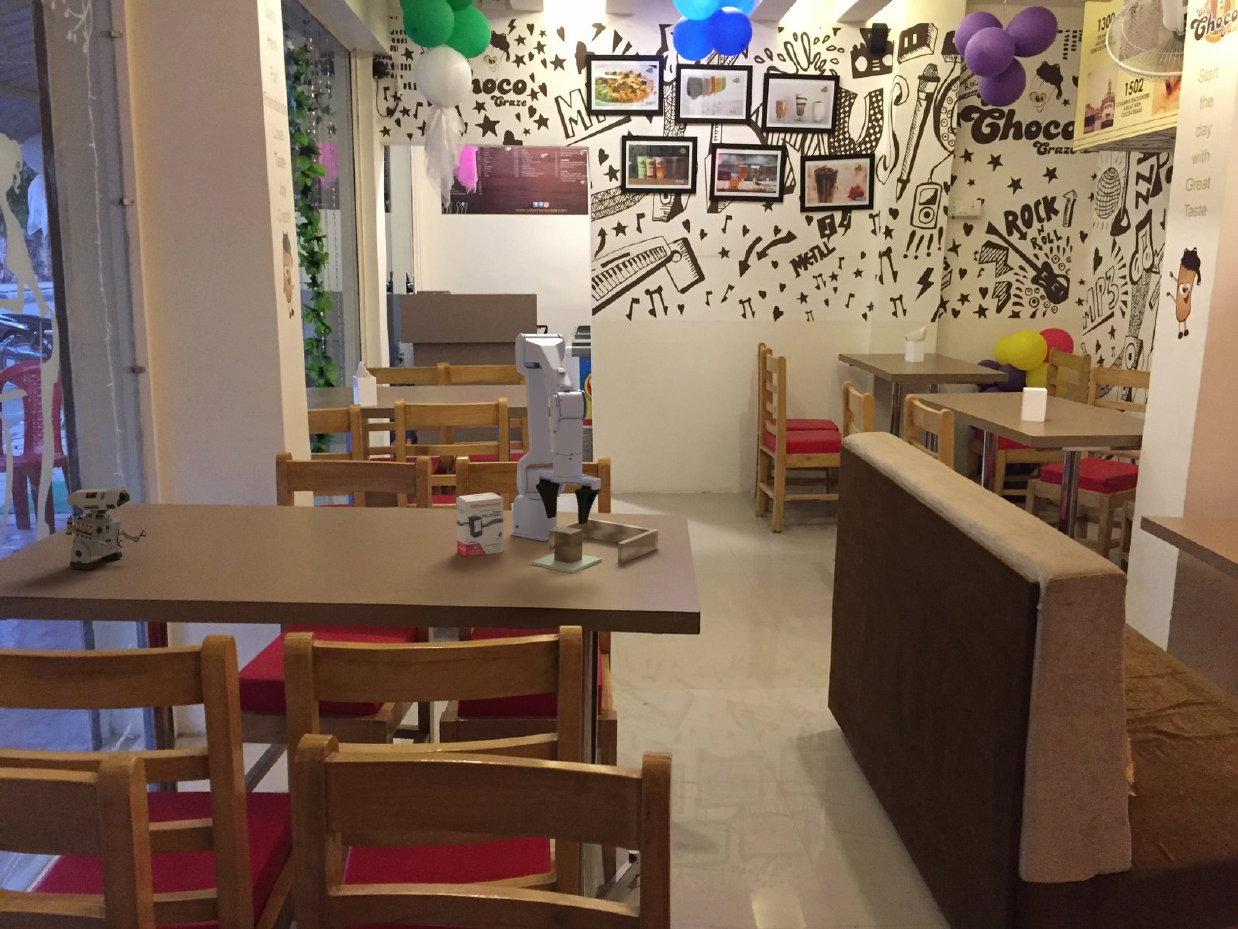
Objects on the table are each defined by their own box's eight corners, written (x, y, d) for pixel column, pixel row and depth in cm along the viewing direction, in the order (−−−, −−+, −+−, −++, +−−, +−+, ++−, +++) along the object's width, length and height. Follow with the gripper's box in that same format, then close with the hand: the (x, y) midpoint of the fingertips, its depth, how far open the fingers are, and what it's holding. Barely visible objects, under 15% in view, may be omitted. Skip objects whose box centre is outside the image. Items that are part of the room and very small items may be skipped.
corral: (548, 548, 210) (548, 530, 209) (585, 535, 221) (586, 517, 221) (623, 563, 200) (623, 543, 199) (657, 548, 212) (658, 529, 211)
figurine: (114, 574, 187) (108, 495, 184) (63, 568, 190) (56, 491, 187) (148, 561, 196) (143, 486, 193) (98, 555, 199) (93, 481, 196)
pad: (531, 564, 198) (531, 561, 198) (561, 553, 206) (561, 550, 206) (573, 573, 193) (573, 570, 193) (601, 561, 201) (601, 558, 201)
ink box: (466, 558, 202) (465, 500, 200) (456, 552, 206) (455, 496, 204) (504, 552, 207) (504, 496, 205) (493, 546, 211) (493, 492, 209)
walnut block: (554, 560, 199) (554, 530, 198) (565, 555, 203) (566, 526, 202) (570, 563, 197) (570, 533, 196) (582, 558, 201) (582, 529, 199)
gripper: (525, 451, 196) (525, 518, 199) (587, 460, 188) (586, 530, 191) (547, 446, 202) (546, 512, 205) (607, 454, 194) (606, 522, 197)
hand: (567, 520), depth 198 cm, fingers open, 7 cm apart
